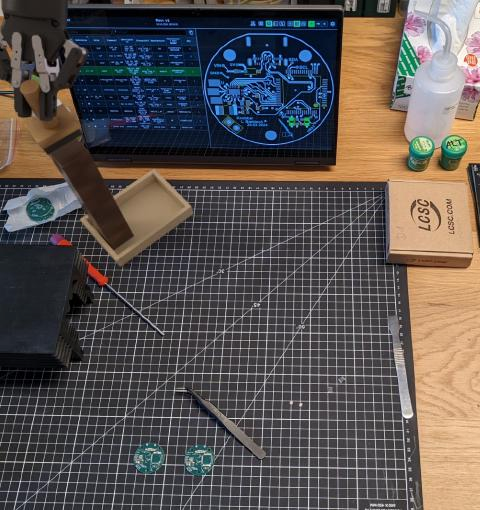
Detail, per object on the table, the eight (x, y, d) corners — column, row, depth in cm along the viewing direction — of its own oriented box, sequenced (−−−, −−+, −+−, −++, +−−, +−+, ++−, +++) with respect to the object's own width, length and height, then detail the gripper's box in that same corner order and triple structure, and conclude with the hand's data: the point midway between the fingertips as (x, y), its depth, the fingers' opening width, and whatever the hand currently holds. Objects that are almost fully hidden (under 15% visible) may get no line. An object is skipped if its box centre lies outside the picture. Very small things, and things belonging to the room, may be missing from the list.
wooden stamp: (47, 156, 87) (15, 107, 78) (33, 139, 88) (0, 88, 79) (84, 134, 89) (58, 84, 80) (70, 117, 90) (42, 66, 81)
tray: (121, 269, 113) (116, 260, 110) (85, 228, 116) (79, 219, 113) (194, 216, 118) (191, 206, 115) (158, 178, 122) (154, 168, 119)
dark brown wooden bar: (113, 250, 113) (62, 168, 90) (99, 234, 115) (45, 149, 91) (134, 236, 115) (88, 151, 92) (120, 220, 116) (71, 133, 93)
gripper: (-39, -35, 73) (-33, 113, 79) (73, -18, 73) (72, 130, 78) (-1, -27, 81) (2, 108, 86) (102, -11, 80) (99, 124, 85)
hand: (35, 118), depth 82 cm, fingers closed on wooden stamp, 2 cm apart
